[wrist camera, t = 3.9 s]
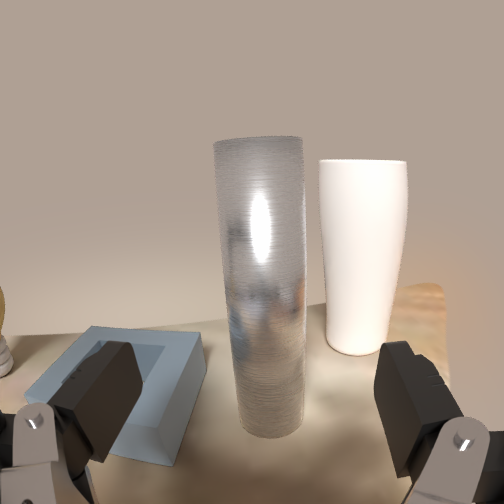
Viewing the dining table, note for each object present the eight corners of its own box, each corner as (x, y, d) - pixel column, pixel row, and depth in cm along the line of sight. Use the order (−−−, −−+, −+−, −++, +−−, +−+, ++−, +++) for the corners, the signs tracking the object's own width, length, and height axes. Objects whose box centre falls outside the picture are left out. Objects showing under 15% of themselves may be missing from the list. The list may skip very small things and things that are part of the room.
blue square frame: (45, 432, 15) (23, 394, 14) (102, 360, 24) (91, 325, 23) (172, 466, 14) (157, 427, 13) (206, 370, 23) (200, 332, 22)
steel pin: (236, 437, 16) (203, 141, 12) (243, 395, 20) (221, 145, 16) (304, 437, 16) (305, 134, 11) (302, 394, 20) (299, 141, 15)
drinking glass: (382, 320, 28) (390, 160, 24) (403, 360, 22) (423, 162, 18) (314, 324, 29) (312, 159, 25) (321, 367, 23) (323, 159, 18)
